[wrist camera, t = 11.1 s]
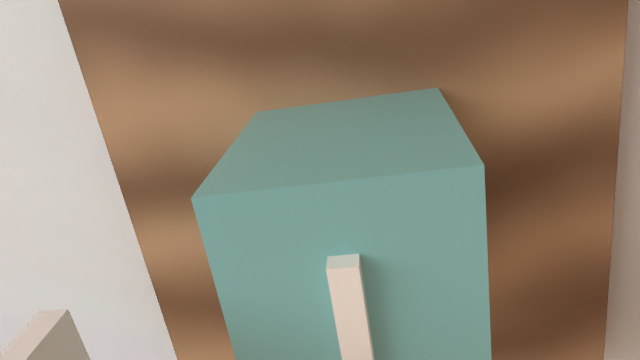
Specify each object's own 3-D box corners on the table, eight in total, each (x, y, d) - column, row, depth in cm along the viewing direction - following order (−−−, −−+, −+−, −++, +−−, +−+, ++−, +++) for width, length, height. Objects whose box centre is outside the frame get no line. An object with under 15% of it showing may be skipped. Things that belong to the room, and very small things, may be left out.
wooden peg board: (68, -36, 20) (-78, -38, 13) (616, -139, 17) (770, -204, 10) (195, 364, 27) (142, 488, 21) (589, 339, 24) (670, 472, 18)
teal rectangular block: (256, 112, 20) (182, 209, 12) (437, 87, 19) (490, 174, 11) (288, 264, 22) (245, 427, 14) (449, 249, 21) (498, 415, 13)
